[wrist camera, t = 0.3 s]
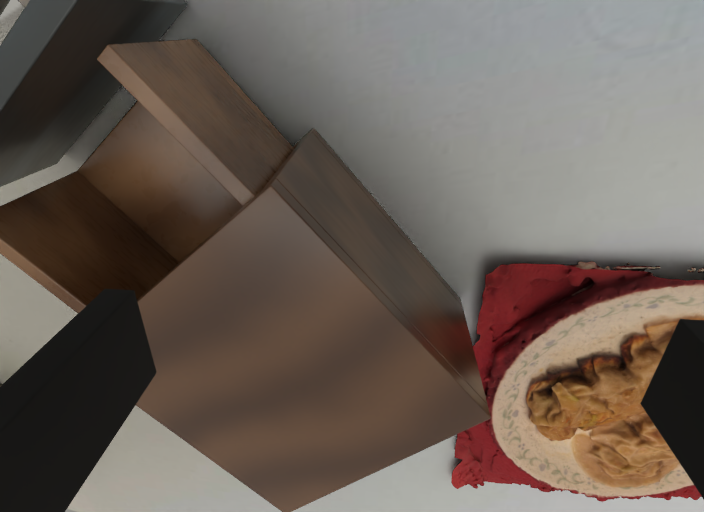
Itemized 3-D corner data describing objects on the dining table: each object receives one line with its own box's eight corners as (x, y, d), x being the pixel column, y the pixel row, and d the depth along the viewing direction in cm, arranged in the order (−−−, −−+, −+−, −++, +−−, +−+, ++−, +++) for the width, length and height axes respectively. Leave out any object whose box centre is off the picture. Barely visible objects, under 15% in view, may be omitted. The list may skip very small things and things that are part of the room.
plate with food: (483, 251, 29) (492, 278, 26) (899, 270, 27) (961, 301, 24) (448, 471, 41) (451, 507, 38) (738, 497, 39) (766, 538, 36)
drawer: (-21, 95, 26) (-199, 124, 18) (103, -93, 21) (-67, -164, 13) (212, 301, 32) (155, 391, 24) (351, 192, 27) (336, 259, 19)
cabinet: (167, 258, 32) (71, 358, 22) (314, 127, 26) (270, 184, 17) (312, 387, 36) (285, 514, 27) (460, 299, 31) (491, 418, 22)
